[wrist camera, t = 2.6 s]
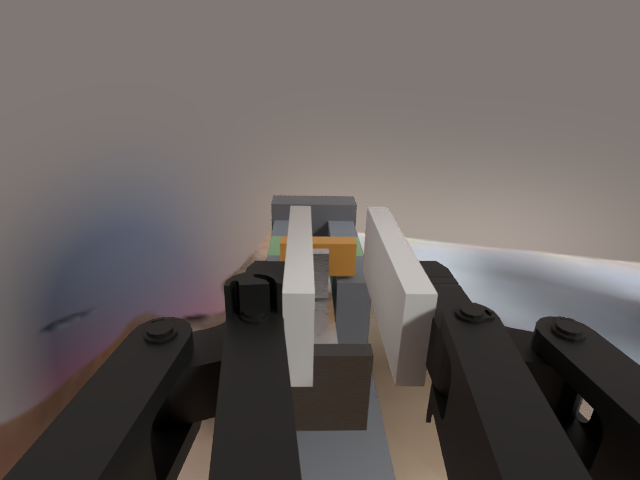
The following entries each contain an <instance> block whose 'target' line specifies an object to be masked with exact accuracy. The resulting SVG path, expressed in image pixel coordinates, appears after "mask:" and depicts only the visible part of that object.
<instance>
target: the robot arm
mask: <svg viewBox="0 0 640 480" xmlns="http://www.w3.org/2000/svg"><path fill="white" fill-rule="evenodd" d="M363 274H364V278H365V281H366V285H367V288H368V292H369V295H370V299H371V302H372V306H373V310H374V313H375V317H376V320H377V324H378V327H379V331H380V334H381V338H382V341H383V345H384V349H385V352H386V356H387V359H388V363H389V366H390V370H391V373H392V377H393V380H394V384H395V386H424V384H425V377H426V370H428V372H429V375H430V377H431V380H432V384H431V390H430V397H429V403H428V409H427V416H426V422H429V423H431V417H432V415H434V419H435V424H436V428H437V432H438V437H439V441H440V446H441V450H442V455H443V459H444V463H445V468H446V472H447V477H448V480H640V365H638V364H637V363H636V362H634V361H633V360H632V359H631V358H629V357H628V356H627V355H625V354H624V353H623V352H621V351H620V350H619V349H618V348H616V347H615V346H614V345H612V344H611V343H610V342H608V341H607V340H606V339H604V338H603V337H602V336H601V335H599V334H598V333H597V332H595V331H594V330H592V329H591V328H589V327H588V326H586V325H584V324H582V323H579V322H577V321H575V320H573V319H570V318H565V317H550V316H549V317H544V318H541V319H540V320H538V321H537V322H536V326H535V330H534V332H531V331H525V330H520V329H514V328H510V327H506V326H504V325H503V323H502V321H501V320H500V318H499V317H498V315H497V314H496V313H495V312H494V311H492V310H491V309H489V308H487V307H485V306H482V305H480V304H477V303H472V302H471V301H470V299H469V298H468V296H467V295H466V294H465V292H464V291H463V289H462V288H461V286H460V285H458V282H457V281H456V279H455V278H454V276H453V275H452V274H451V272H450V271H449V269H448V268H446V267H445V266H443V265H442V264H440V263H439V262H437V261H418V259H417V257H416V256H415V254H414V252H413V250H412V249H411V247H410V245H409V243H408V242H407V240H406V238H405V237H404V235H403V233H402V231H401V230H400V229H399V226H398V225H397V223H396V221H395V219H394V218H393V216H392V214H391V213H390V211H389V209H388V208H387V207H367V219H366V232H365V246H364V261H363ZM224 294H225V308H226V322H224V323H223V324H221V325H218V326H216V327H213V328H209V329H205V330H200V331H195V332H192V328H191V326H190V323H188V322H186V321H185V320H183V319H179V318H174V317H166V318H165V317H162V318H158V319H153V320H150V321H148V322H145V323H143V324H141V325H139V326H138V327H137V328H135V329H134V330H133V331H132V332H131V333H130V334H129V335H128V336H127V337H126V339H125V340H124V341H123V342H122V343H121V344H120V345H119V347H118V348H117V349H116V350H115V351H114V352H113V354H112V355H111V356H110V357H109V358H108V359H107V360H106V362H105V363H104V364H103V365H102V366H101V367H100V368H99V370H98V371H97V372H96V373H95V374H94V375H93V376H92V378H91V379H90V380H89V381H88V382H87V383H86V384H85V386H84V387H83V388H82V389H81V390H80V391H79V392H78V394H77V395H76V396H75V397H74V398H73V399H72V400H71V402H70V403H69V404H68V405H67V406H66V407H65V408H64V410H63V411H62V412H61V413H60V414H59V415H58V416H57V418H56V419H55V420H54V421H53V422H52V423H51V424H50V426H49V427H48V428H47V429H46V430H45V431H44V432H43V434H42V435H41V436H40V437H39V438H38V439H37V440H36V442H35V443H34V444H33V445H32V446H31V447H30V449H29V450H28V451H27V452H26V453H25V454H24V455H23V457H22V458H21V459H20V460H19V461H18V462H17V463H16V465H15V466H14V467H13V468H12V469H11V470H10V471H9V473H8V474H7V475H6V476H5V477H4V478H3V479H2V480H177V477H178V475H179V473H180V471H181V469H182V466H183V464H184V462H185V460H186V458H187V455H188V453H189V451H190V449H191V447H192V444H193V442H194V440H195V438H196V435H197V433H198V431H199V429H200V426H201V421H202V420H205V419H209V418H213V417H215V425H214V434H213V444H212V453H211V462H210V472H209V480H302V477H301V468H300V460H299V451H298V442H297V434H296V425H295V416H294V408H293V399H292V391H291V387H313V353H314V309H315V286H314V265H313V243H312V222H311V206H290V216H289V227H288V237H287V247H286V258H285V261H255V262H254V263H252V264H251V265H250V266H249V267H248V268H247V269H246V273H241V274H238V275H235V276H233V277H231V278H230V279H228V280H227V281H226V283H225V285H224ZM583 399H584V400H585V401H586V402H587V403H588V404H589V405H590V406H591V407H592V408H593V409H594V410H593V413H592V416H591V418H590V420H587V419H586V418H585V417H584V416H583V415H582V414H581V413H580V412H579V409H580V406H581V403H582V400H583Z"/></svg>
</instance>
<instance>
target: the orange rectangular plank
mask: <svg viewBox="0 0 640 480" xmlns="http://www.w3.org/2000/svg"><path fill="white" fill-rule="evenodd" d="M287 237H288V236H281V240H280V261H285V258H286V247H287ZM312 243H313V249H329V276H355V265H356V249H357V243H356V240H355V237H313V236H312Z"/></svg>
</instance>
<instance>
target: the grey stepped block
mask: <svg viewBox="0 0 640 480" xmlns="http://www.w3.org/2000/svg"><path fill="white" fill-rule="evenodd" d="M271 205H272V235H271V240H270V246H269V251H268V256H267V261H280V240H281V236H288V227H289V216H290V206H311V222H312V236H313V237H355V240H356V243H357V249H356V265H355V276H330V282H331V291H332V299H333V307H334V316H335V324H336V332H337V341H338V344H368V333H369V321H370V309H371V299H370V295H369V292H368V288H367V285H366V281H365V278H364V274H363V261H364V254H363V251H362V248H361V244H360V241H359V238H358V235H357V232H356V228H355V225H356V209H357V208H356V207H357V205H356V202H355V199H354V197H347V196H346V197H344V196H343V197H342V196H275V195H274V196H273V200H272V204H271ZM296 434H297V442H298V451H299V460H300V468H301V477H302V480H396V479H395V475H394V470H393V466H392V461H391V457H390V452H389V448H388V443H387V439H386V434H385V429H384V425H383V420H382V416H381V411H380V407H379V402H378V398H377V393H376V388H375V384H374V379H373V375H371V386H370V397H369V409H368V420H367V430H352V431H296Z"/></svg>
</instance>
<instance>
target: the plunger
mask: <svg viewBox="0 0 640 480" xmlns="http://www.w3.org/2000/svg"><path fill="white" fill-rule="evenodd" d="M313 265H314V286H315V309H314V353H313V387H291V391H292V399H293V408H294V416H295V425H296V431H352V430H367V420H368V409H369V397H370V386H371V375H372V364H373V353H372V349H371V344H338V341H337V332H336V324H335V316H334V307H333V299H332V291H331V282H330V276H329V249H313Z"/></svg>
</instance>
